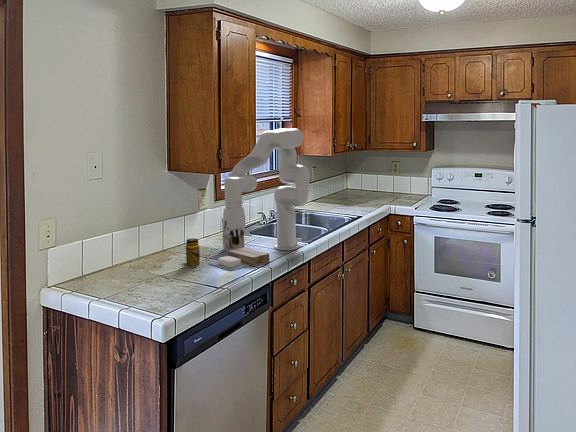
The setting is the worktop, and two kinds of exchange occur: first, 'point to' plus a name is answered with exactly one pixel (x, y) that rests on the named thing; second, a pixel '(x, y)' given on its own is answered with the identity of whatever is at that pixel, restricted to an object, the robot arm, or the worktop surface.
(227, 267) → the mat
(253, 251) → the board
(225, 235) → the coffee box
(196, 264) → the condiment
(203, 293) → the worktop surface
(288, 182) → the robot arm
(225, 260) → the tile
